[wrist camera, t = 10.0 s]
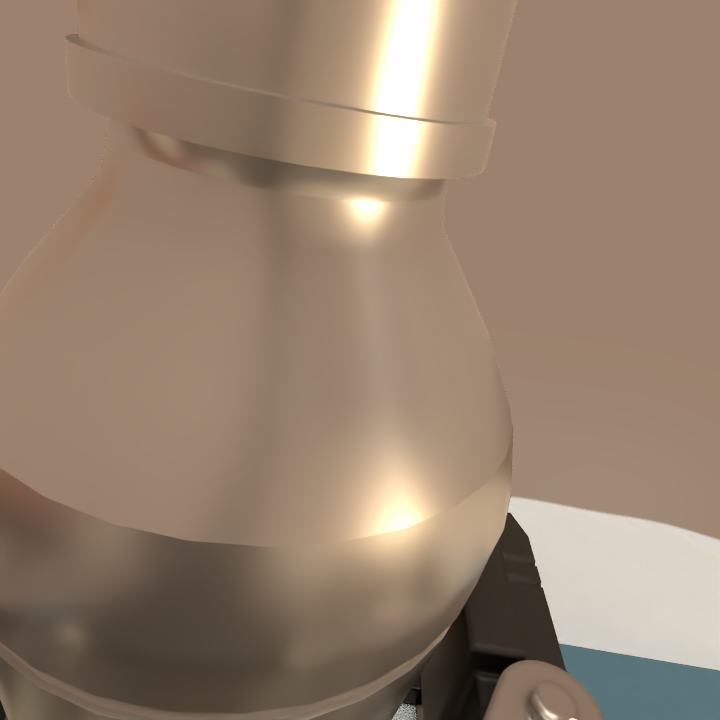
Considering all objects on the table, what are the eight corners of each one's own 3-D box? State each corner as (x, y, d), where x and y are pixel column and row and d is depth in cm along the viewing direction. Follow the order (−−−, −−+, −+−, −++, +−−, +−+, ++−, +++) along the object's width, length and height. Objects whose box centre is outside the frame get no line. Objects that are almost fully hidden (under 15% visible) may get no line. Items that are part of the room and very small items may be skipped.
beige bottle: (-11, 887, 15) (-181, -198, 6) (255, 757, 18) (408, -21, 9) (31, 1314, 10) (-517, -761, 1) (373, 1027, 14) (894, 19, 5)
